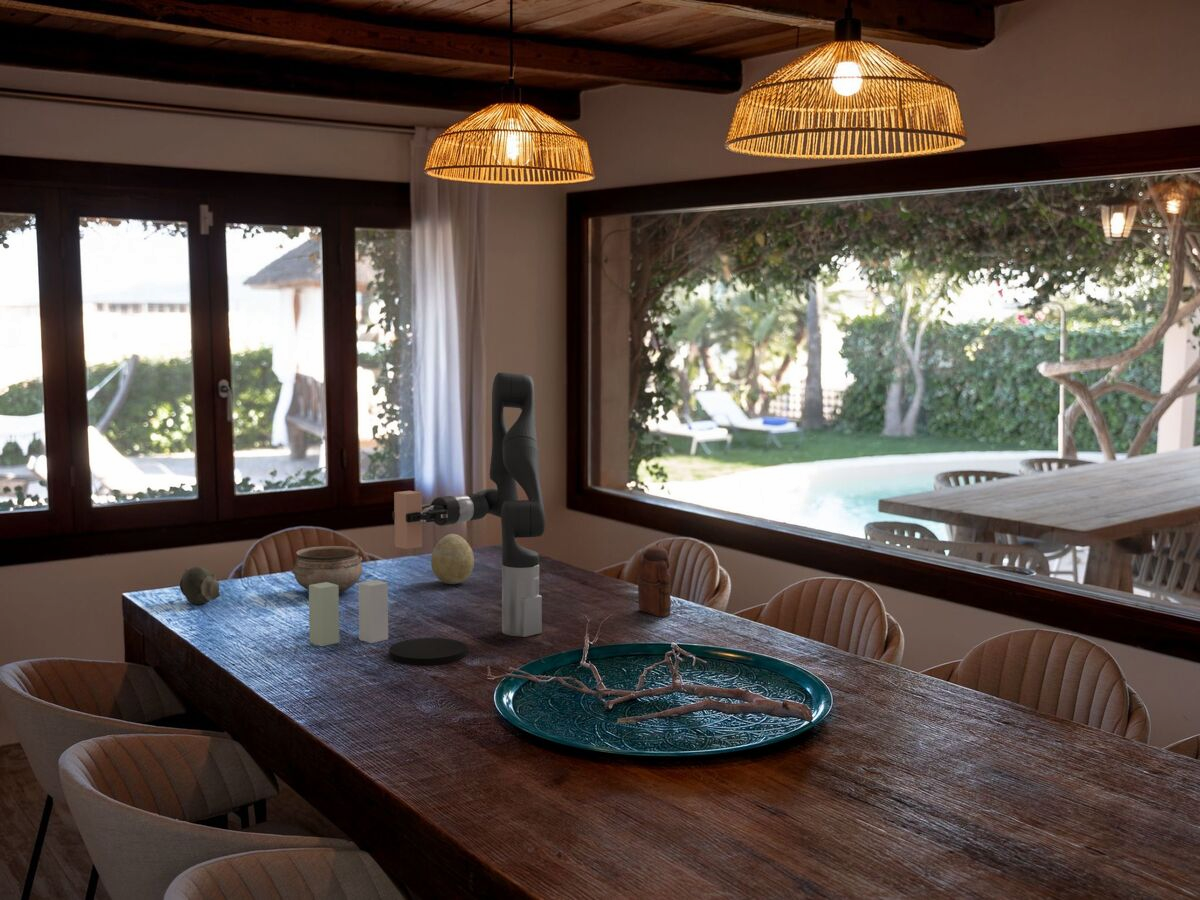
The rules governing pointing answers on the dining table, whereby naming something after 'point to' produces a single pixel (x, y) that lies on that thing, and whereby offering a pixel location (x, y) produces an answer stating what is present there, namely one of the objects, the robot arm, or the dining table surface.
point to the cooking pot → (328, 566)
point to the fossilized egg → (452, 559)
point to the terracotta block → (405, 532)
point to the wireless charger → (427, 651)
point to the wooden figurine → (654, 582)
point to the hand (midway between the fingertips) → (400, 516)
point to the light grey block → (373, 611)
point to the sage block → (324, 613)
